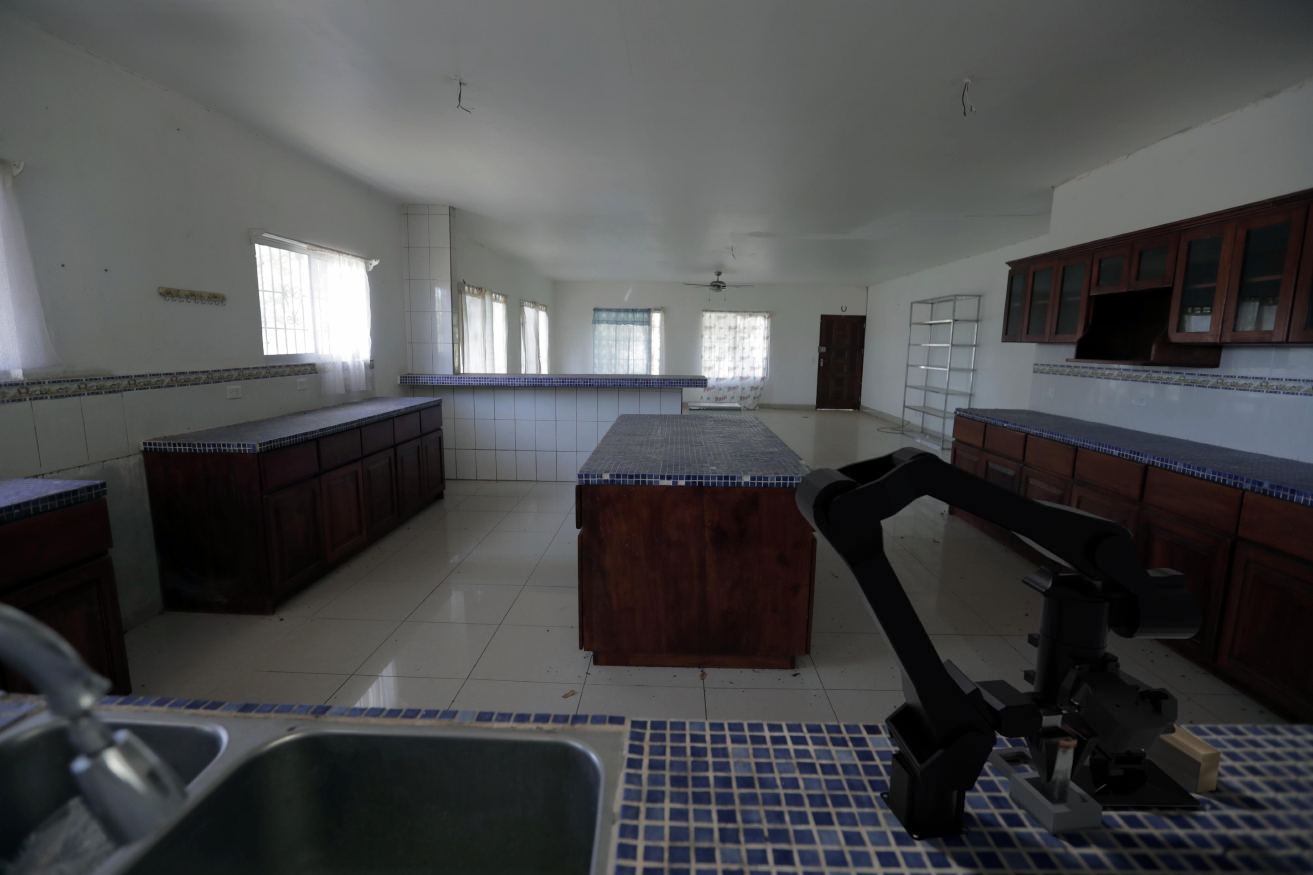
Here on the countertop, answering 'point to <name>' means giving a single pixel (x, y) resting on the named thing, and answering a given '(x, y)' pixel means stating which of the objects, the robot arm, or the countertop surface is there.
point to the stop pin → (1062, 768)
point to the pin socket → (1012, 753)
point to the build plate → (1129, 780)
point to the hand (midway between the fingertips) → (1056, 777)
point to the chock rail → (1186, 760)
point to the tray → (1055, 805)
